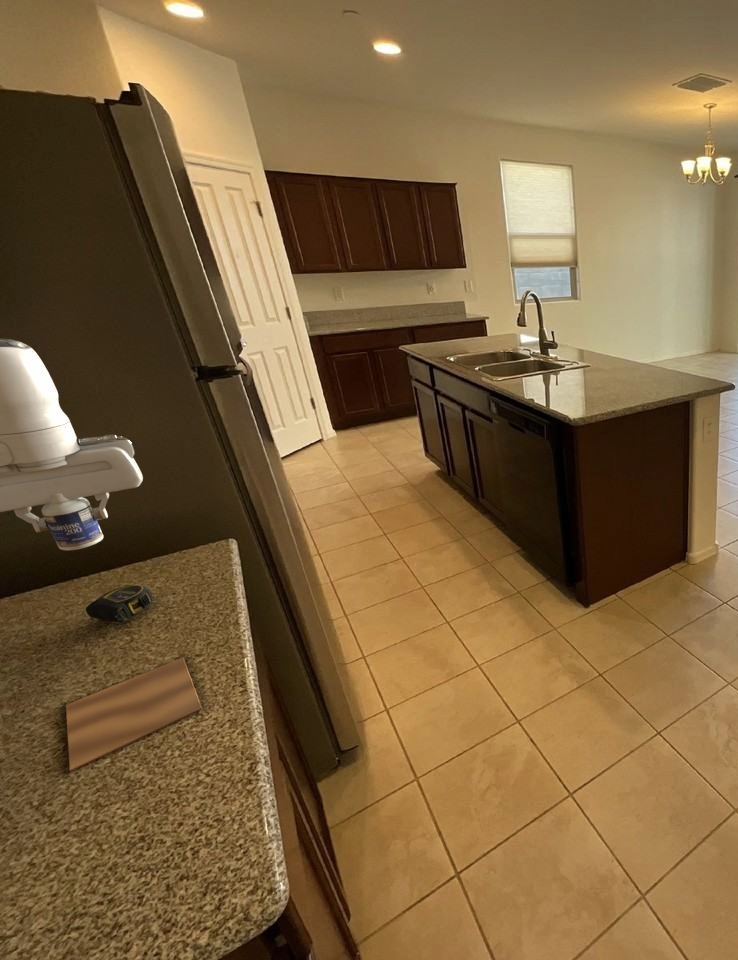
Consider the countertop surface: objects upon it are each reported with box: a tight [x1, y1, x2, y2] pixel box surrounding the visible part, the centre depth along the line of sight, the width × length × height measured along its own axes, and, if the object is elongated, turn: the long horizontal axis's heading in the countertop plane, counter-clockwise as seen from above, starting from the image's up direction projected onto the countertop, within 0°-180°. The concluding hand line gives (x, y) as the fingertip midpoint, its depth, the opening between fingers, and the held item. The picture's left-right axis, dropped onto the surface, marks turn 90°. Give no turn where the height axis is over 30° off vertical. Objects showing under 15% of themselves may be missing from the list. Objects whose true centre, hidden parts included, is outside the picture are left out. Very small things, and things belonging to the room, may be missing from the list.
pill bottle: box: [41, 494, 104, 551], centre depth 85 cm, size 5×5×10 cm
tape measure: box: [85, 584, 154, 623], centre depth 85 cm, size 7×7×4 cm
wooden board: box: [65, 657, 203, 772], centre depth 67 cm, size 14×12×1 cm
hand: (73, 524), depth 86 cm, fingers closed on pill bottle, 5 cm apart
